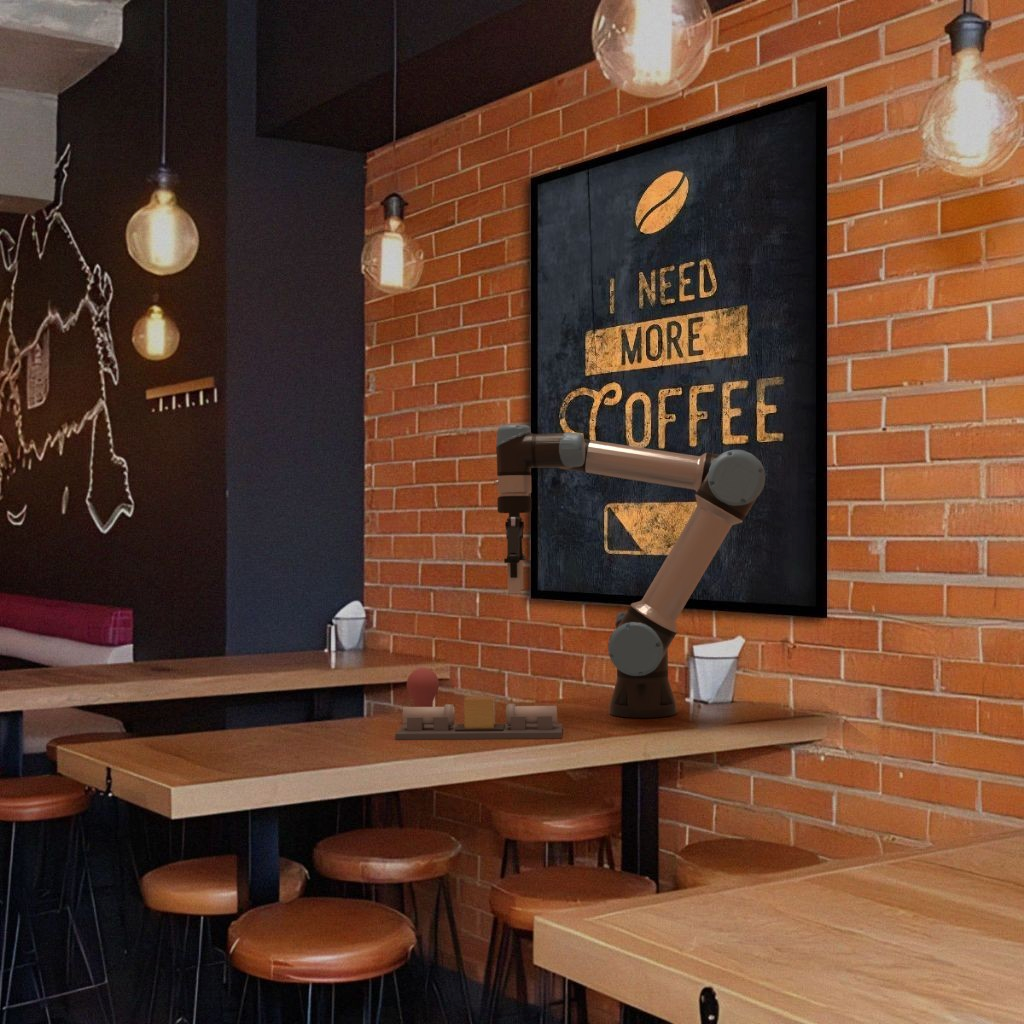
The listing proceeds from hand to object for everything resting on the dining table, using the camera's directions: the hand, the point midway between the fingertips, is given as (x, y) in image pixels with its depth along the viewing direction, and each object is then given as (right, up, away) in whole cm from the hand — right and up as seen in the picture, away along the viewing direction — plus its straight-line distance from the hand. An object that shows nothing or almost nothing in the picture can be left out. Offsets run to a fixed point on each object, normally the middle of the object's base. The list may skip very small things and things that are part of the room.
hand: (515, 591), depth 294 cm
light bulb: (-20, -29, +1) cm, 36 cm away
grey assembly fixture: (-7, -29, -17) cm, 34 cm away
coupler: (-8, -27, -17) cm, 33 cm away
